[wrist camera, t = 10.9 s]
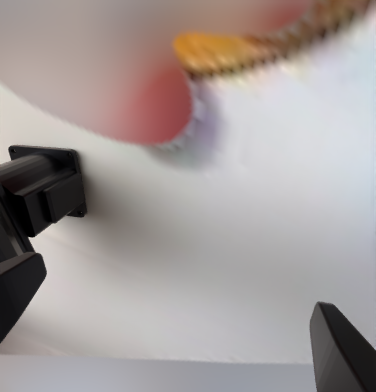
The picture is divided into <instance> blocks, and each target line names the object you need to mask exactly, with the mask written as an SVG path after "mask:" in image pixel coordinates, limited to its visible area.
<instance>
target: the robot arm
mask: <svg viewBox="0 0 376 392" xmlns="http://www.w3.org/2000/svg"><path fill="white" fill-rule="evenodd" d="M8 150H9V154H10V157H11V161H9V162H6V163H4V164H1V165H0V343H1V342H2V341H3V339H4V338H5V337H6V335H7V334H8V333H9V332H10V330H11V329H12V328H13V326H14V325H15V324H16V322H17V321H18V320H19V318H20V317H21V315H22V314H23V312H24V311H25V309H26V307H27V306H28V304H29V303H30V301H31V300H32V298H33V297H34V295H35V293H36V292H37V290H38V289H39V287H40V286H41V284H42V282H43V281H44V279H45V277H46V274H47V271H46V267H45V264H44V260H43V257H42V255H41V254H39V253H36V252H35V250H34V248H33V246H32V244H31V242H30V240H29V238H28V237H35V236H37V235H38V234H39V233H41V232H42V231H43V230H45V229H46V228H47V227H49V226H50V225H51V224H53V223H57V222H58V221H59V220H61V219H62V218H63V217H65V216H73V217H84V216H85V215H86V214H87V209H86V203H85V196H84V190H83V185H82V179H81V175H80V170H79V164H78V159H77V154H76V152H75V151H74V150H72V149H64V148H51V147H38V146H25V145H12V146H10V147H9V149H8ZM15 151H16V152H15ZM69 154H71V157H70V156H69ZM80 211H81V212H82V213H81V212H80ZM310 336H311V345H312V354H313V363H314V372H315V381H316V388H317V392H376V350H375V349H374V348H373V347H372V346H371V345H370V343H369V342H368V341H367V340H366V339H365V338H364V337H363V336H362V335H361V334H360V333H359V331H358V330H357V329H356V328H355V327H354V326H353V325H352V324H351V323H350V322H349V321H348V319H347V318H346V317H345V316H344V315H343V314H342V313H341V312H340V311H339V310H338V308H337V307H336V306H335V305H333V304H331V303H325V302H317V303H316V305H315V307H314V311H313V314H312V317H311V320H310Z"/></svg>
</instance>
